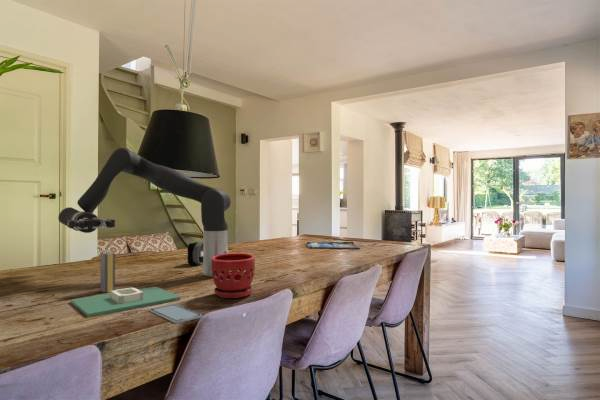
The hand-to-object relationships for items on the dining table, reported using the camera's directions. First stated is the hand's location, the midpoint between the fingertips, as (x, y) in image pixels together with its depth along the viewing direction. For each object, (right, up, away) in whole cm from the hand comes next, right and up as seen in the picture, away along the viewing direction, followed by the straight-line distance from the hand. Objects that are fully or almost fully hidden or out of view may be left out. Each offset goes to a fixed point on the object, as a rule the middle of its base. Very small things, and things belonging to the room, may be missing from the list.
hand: (97, 224), depth 126 cm
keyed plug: (+8, -20, -8) cm, 23 cm away
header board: (+19, -20, -20) cm, 35 cm away
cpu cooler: (+23, -21, +42) cm, 52 cm away
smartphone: (+37, -21, -32) cm, 53 cm away
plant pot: (+49, -21, -13) cm, 55 cm away
